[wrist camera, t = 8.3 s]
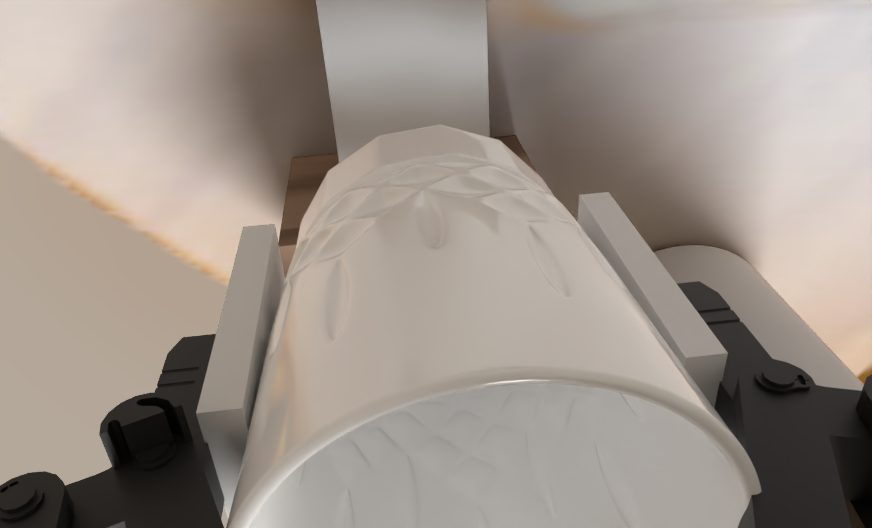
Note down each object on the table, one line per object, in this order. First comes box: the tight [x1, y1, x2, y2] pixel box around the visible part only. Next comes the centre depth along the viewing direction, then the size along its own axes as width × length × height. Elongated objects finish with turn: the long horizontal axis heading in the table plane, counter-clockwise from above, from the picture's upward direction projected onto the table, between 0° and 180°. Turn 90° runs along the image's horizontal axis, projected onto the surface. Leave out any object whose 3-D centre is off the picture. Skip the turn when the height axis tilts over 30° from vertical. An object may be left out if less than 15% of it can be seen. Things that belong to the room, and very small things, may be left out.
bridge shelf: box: [278, 0, 537, 279], centre depth 31 cm, size 20×12×10 cm, turn 4°
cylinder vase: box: [653, 245, 864, 391], centre depth 36 cm, size 12×12×25 cm
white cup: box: [226, 125, 762, 528], centre depth 15 cm, size 8×8×10 cm
